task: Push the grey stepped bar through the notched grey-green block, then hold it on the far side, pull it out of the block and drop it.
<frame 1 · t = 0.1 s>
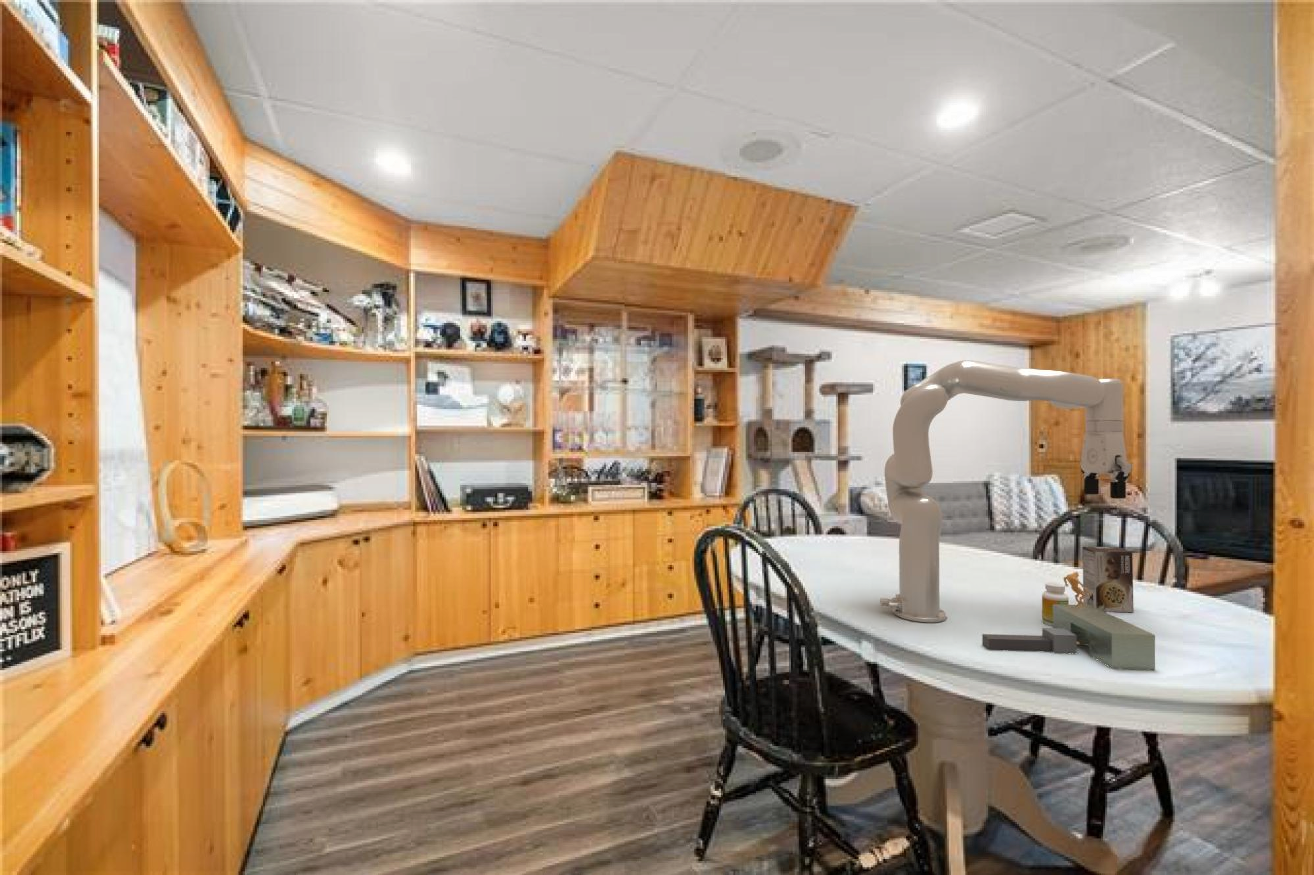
hand: (1104, 496, 144), 31 cm above the table, tool pointing down, fingers open, 9 cm apart
supplement bottle: (1055, 624, 142), on the table
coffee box: (1107, 609, 154), on the table
notched grey-green block: (1099, 650, 124), on the table
figurine: (1079, 620, 145), on the table
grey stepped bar: (1059, 649, 125), on the table
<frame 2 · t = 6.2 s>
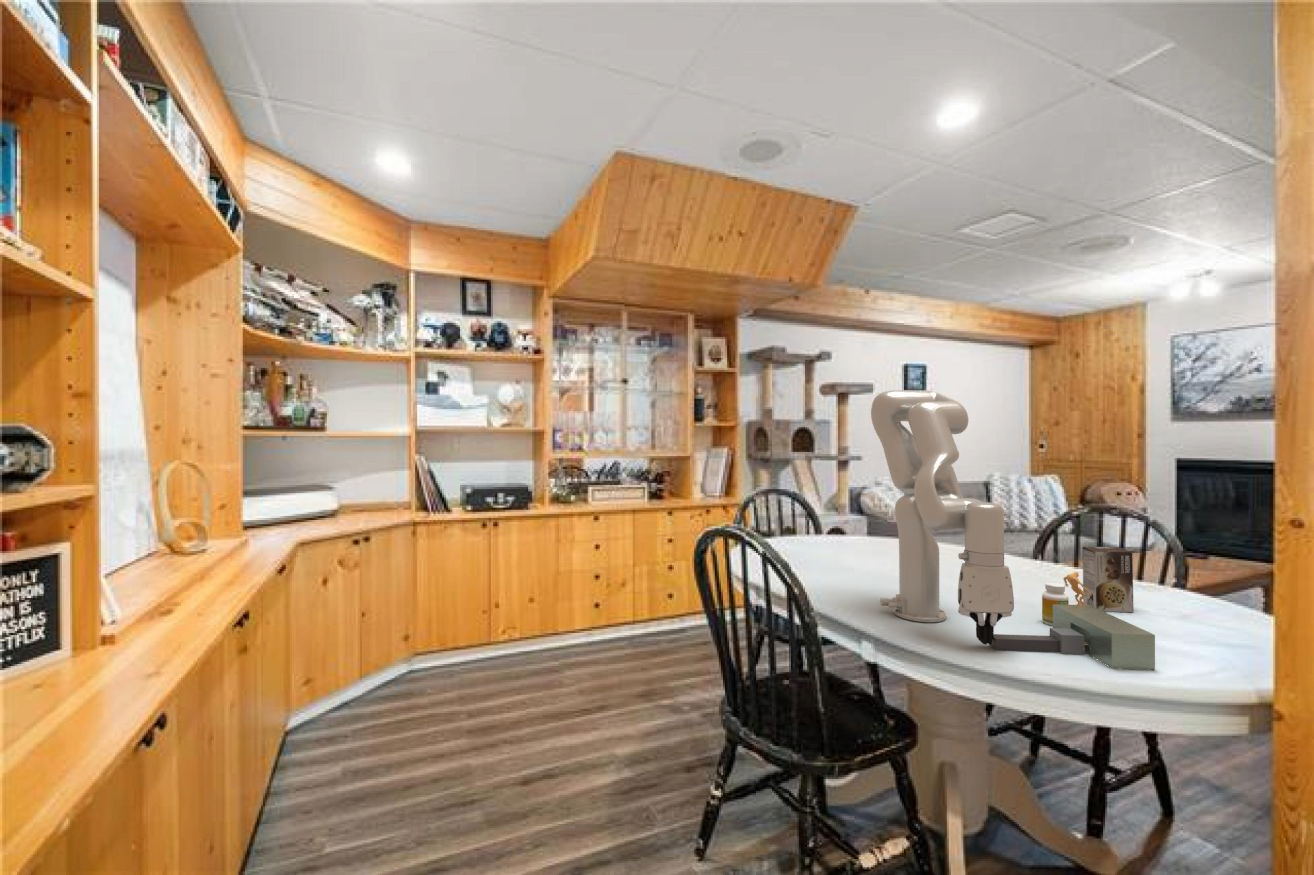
hand: (984, 642, 126), 1 cm above the table, tool pointing down, fingers closed
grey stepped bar: (1066, 650, 124), on the table, touching gripper
everything else where it was.
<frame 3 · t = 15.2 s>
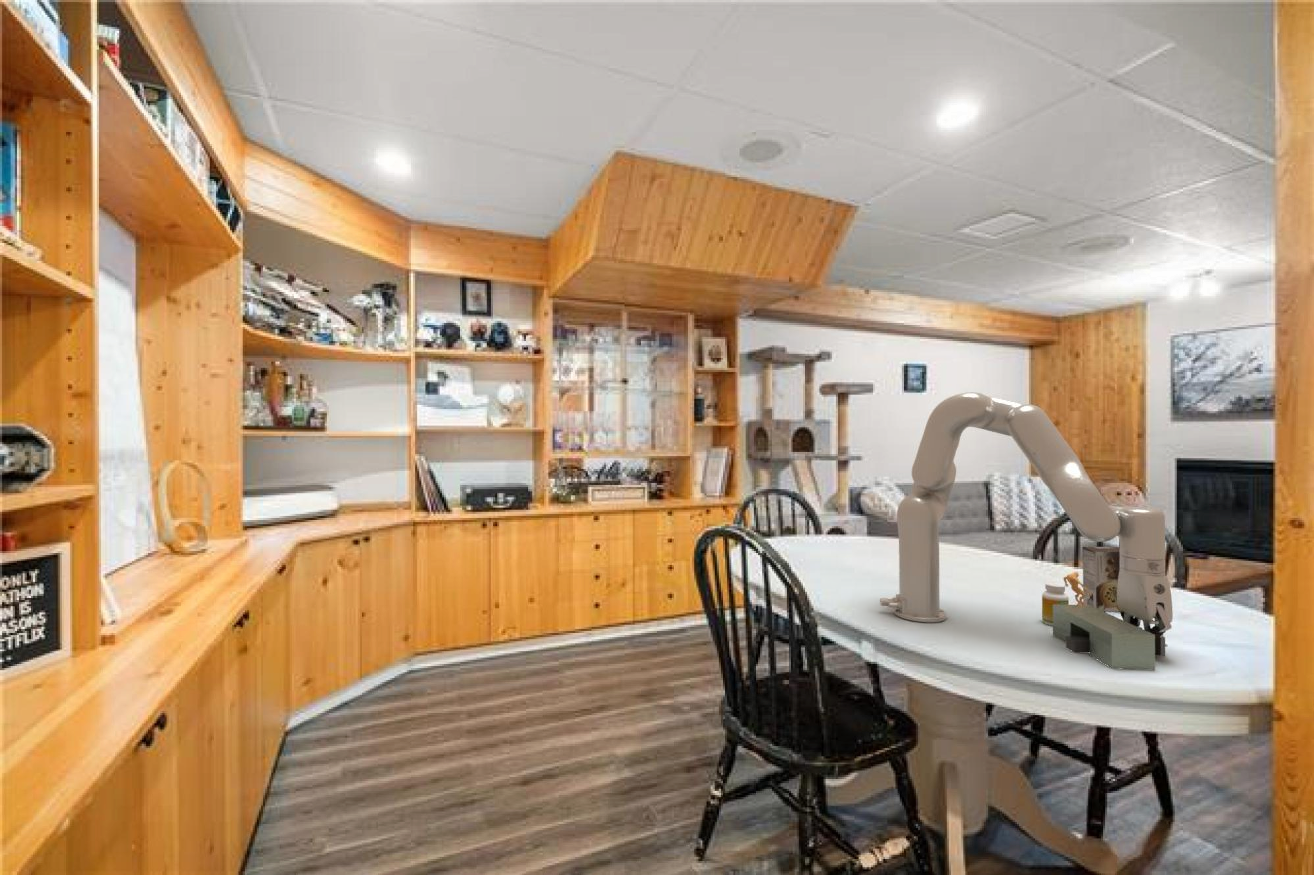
hand: (1142, 648, 123), 1 cm above the table, tool pointing down, fingers closed on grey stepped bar, 4 cm apart
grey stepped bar: (1145, 651, 123), on the table, touching gripper
everything else where it was.
when the fingers open (2 cm above the table, at t = 18.9 s): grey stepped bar drops 1 cm, on the table.
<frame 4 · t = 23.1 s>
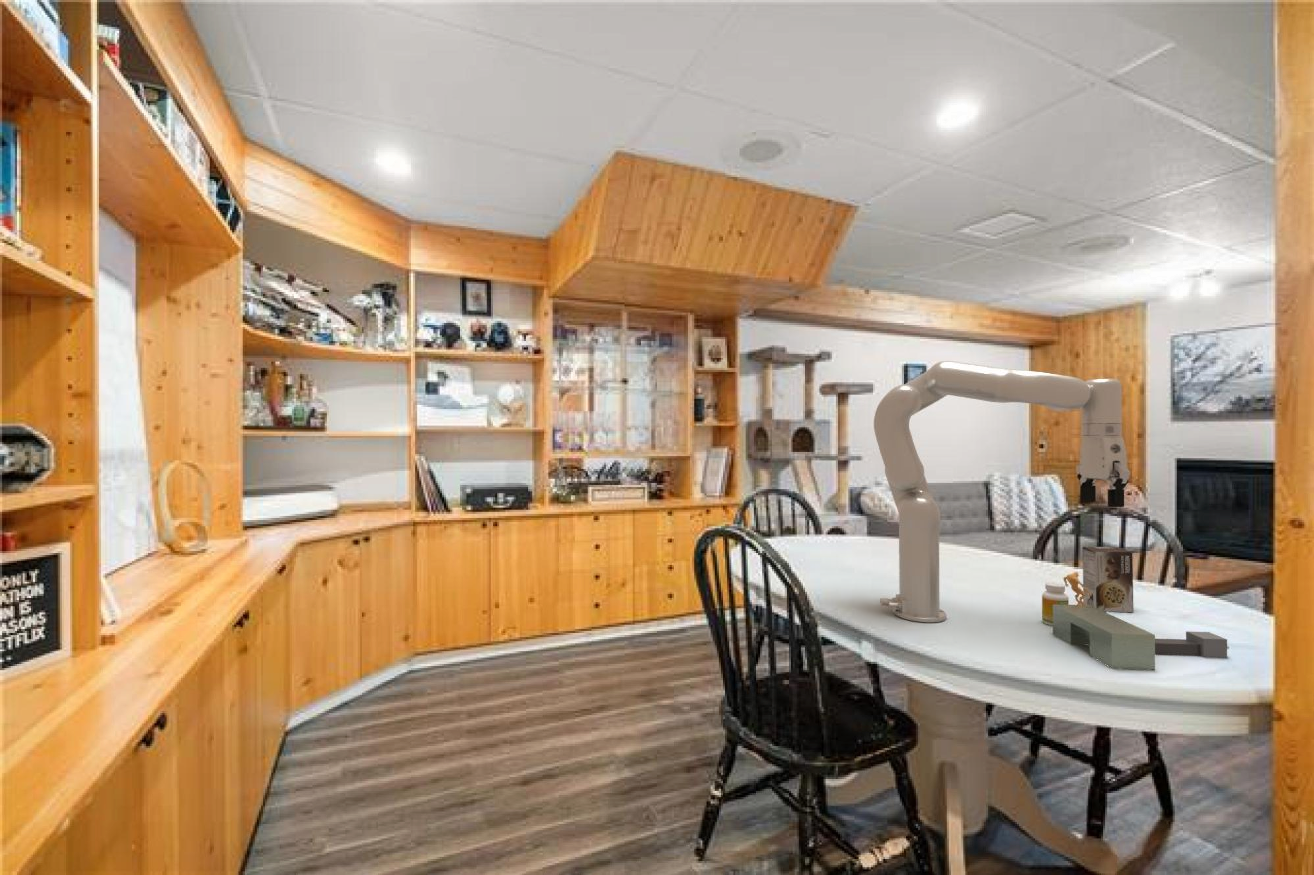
hand: (1101, 504, 135), 30 cm above the table, tool pointing down, fingers open, 9 cm apart
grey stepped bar: (1206, 654, 122), on the table
everything else where it was.
at the end: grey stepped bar inside the target area (1.3 cm from its centre), on the table; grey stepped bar moved 29.5 cm from its start; the gripper is holding nothing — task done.
